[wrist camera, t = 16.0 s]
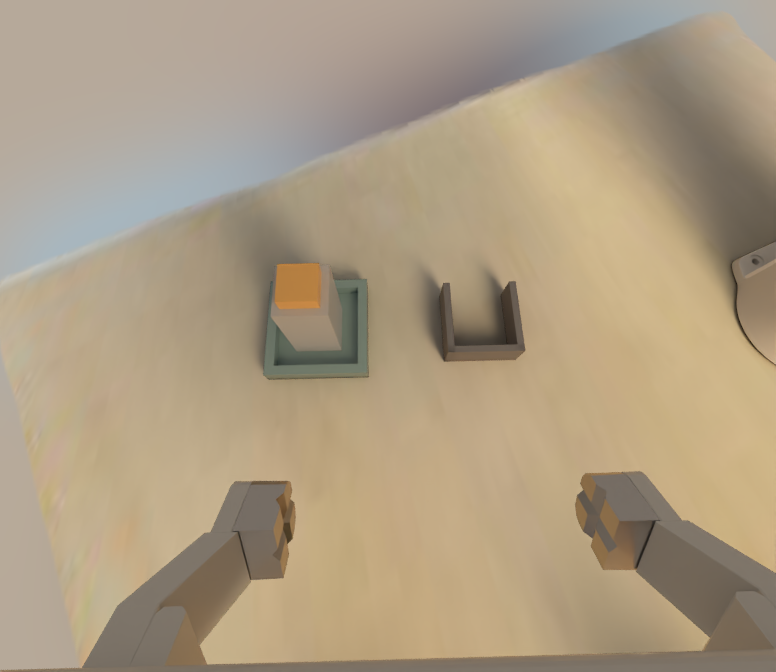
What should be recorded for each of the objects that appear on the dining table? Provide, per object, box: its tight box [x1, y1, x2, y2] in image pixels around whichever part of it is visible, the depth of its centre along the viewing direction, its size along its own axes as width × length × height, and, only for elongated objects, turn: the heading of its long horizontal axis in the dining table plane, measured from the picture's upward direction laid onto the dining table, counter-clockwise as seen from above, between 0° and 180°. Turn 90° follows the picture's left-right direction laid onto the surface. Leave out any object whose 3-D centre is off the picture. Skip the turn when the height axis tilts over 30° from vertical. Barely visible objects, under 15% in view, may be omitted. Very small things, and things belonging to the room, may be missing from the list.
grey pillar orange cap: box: [271, 263, 342, 352], centre depth 40 cm, size 5×5×12 cm
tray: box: [263, 279, 368, 379], centre depth 45 cm, size 11×11×2 cm
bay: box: [439, 281, 525, 361], centre depth 45 cm, size 8×8×4 cm
